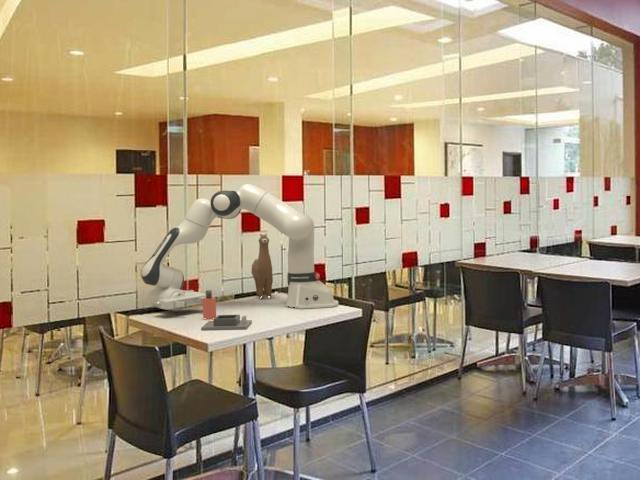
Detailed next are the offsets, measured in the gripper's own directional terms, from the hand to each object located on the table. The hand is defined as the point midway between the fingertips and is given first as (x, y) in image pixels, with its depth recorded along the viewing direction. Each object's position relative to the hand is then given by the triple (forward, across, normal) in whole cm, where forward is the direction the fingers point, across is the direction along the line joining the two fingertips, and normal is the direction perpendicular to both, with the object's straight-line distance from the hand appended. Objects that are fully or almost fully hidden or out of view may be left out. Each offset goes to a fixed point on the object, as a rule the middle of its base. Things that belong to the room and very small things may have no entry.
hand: (195, 302), depth 244 cm
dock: (+27, -6, +5) cm, 29 cm away
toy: (-13, +48, +6) cm, 50 cm away
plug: (+9, 0, +5) cm, 11 cm away
